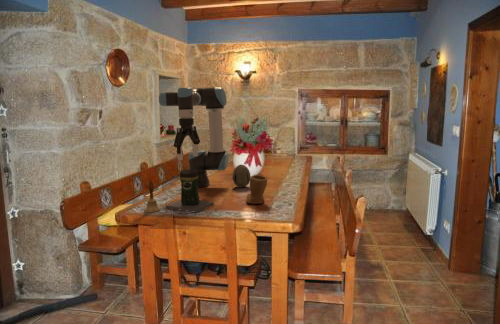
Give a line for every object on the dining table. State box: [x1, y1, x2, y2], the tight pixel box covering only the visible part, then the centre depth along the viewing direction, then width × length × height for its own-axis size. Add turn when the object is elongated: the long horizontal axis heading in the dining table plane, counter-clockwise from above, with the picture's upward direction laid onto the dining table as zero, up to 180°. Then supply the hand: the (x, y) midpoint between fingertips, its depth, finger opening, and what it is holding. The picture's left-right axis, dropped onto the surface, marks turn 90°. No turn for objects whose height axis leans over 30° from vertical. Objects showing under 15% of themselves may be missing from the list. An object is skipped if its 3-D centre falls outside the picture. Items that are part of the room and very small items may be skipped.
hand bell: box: [143, 179, 161, 213], centre depth 199 cm, size 8×8×16 cm
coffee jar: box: [179, 169, 200, 205], centre depth 205 cm, size 10×8×19 cm
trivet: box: [165, 199, 214, 213], centre depth 206 cm, size 20×16×2 cm
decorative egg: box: [232, 164, 252, 188], centre depth 249 cm, size 12×12×15 cm
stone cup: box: [245, 174, 268, 205], centre depth 213 cm, size 15×12×15 cm
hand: (188, 158), depth 203 cm, fingers open, 13 cm apart
